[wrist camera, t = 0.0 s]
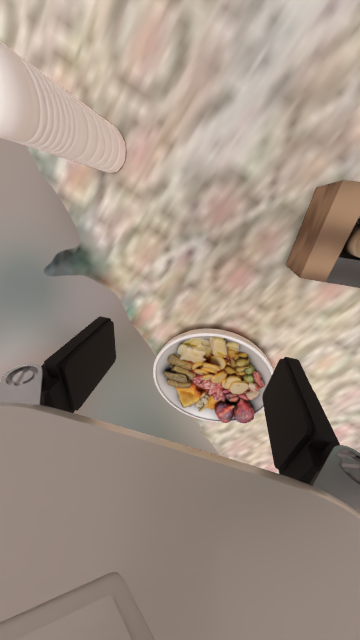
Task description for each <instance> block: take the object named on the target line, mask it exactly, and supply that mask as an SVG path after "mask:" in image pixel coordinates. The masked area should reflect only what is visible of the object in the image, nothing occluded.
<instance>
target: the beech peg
mask: <svg viewBox="0 0 360 640" xmlns="http://www.w3.org/2000/svg"><path fill="white" fill-rule="evenodd" d="M342 251H343V252H345V253H348V254H350V255H353V256H356V257H359V258H360V224H356V225H355V226H354V228H353V230H352V232H351V233H350V235H349V237H348V239H347V241H346V243H345V245H344V247H343V249H342Z"/></svg>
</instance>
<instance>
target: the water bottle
mask: <svg viewBox="0 0 360 640" xmlns="http://www.w3.org/2000/svg"><path fill="white" fill-rule="evenodd" d="M0 138H3V139H7V140H11V141H15V142H17V143H20V144H23V145H26V146H29V147H32V148H35V149H38V150H41V151H44V152H47V153H50V154H53V155H56V156H58V157H61V158H65V159H68V160H71V161H74V162H77V163H80V164H84V165H86V166H89V167H93V168H95V169H98V170H101V171H104V172H107V173H114V172H117V171H118V170H119V169H120V168H121V167H122V166H123V164H124V161H125V157H126V155H125V154H126V147H125V142H124V140H123V137H122V135H121V133H120V132H119V130H118V129H117V128H116V127H115V126H113V125H112V124H111V123H109V122H108V121H106V120H105V119H104V118H103V117H101V116H100V115H98V114H97V113H96V112H95V111H93V110H91V109H90V108H89V107H88V106H87V105H85V104H84V103H82V102H81V101H80V100H79V99H77V98H76V97H75V96H73V95H72V94H70V93H69V92H68V91H67V90H66V89H64V88H63V87H61V86H60V85H58V84H57V83H55V82H54V81H53V80H52V79H50V78H49V77H48V76H46V75H45V74H43V73H42V72H41V71H40V70H38V69H37V68H35V67H34V66H33V65H32V64H30V63H29V62H27V61H26V60H25V59H24V58H22V57H21V56H19V55H18V54H17V53H16V52H14V51H13V50H11V49H10V48H9V47H8V46H6V45H5V44H4V43H3V42H2V41H0Z"/></svg>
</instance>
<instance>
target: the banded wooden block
mask: <svg viewBox="0 0 360 640" xmlns="http://www.w3.org/2000/svg"><path fill="white" fill-rule="evenodd" d="M357 221H360V182H355V181H345V180H342V181H339V182H335V183H331V184H328V185H324V186H320V187H317V188H316V190H315V193H314V195H313V198H312V200H311V203H310V206H309V208H308V211H307V213H306V216H305V218H304V221H303V223H302V226H301V228H300V231H299V234H298V236H297V239H296V241H295V244H294V246H293V249H292V251H291V254H290V256H289V259H288V262H287V264H286V266H287V267H289V268H290V269H291V270H292V271H293V272H294V273H295V274H296V275H297V276H298V277H300V278H304V279H310V280H316V281H322V282H328V283H334V284H340V285H346V286H352V287H358V288H360V258H359V257H356V256H353V255H350V254H348V253H345V252H341V251H342V249H343V247H344V245H345V243H346V241H347V239H348V237H349V235H350V233H351V232H352V230H353V228H354V226H355V224H356V222H357Z"/></svg>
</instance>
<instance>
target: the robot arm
mask: <svg viewBox="0 0 360 640" xmlns="http://www.w3.org/2000/svg"><path fill="white" fill-rule="evenodd" d="M115 359H116V351H115V337H114V324H113V322H112V321H111V319H109V318H105V317H99V318H97V319H96V320H95V321H93V322H92V323H91V324H90V325H88V326H87V327H86V328H85V329H84V330H82V331H81V332H80V333H79V334H77V335H76V336H75V337H74V338H72V339H71V340H70V341H69V342H68V343H66V344H65V345H64V346H63V347H61V348H60V349H59V350H58V351H57V352H56V353H54V354H53V355H52V356H50V357H49V358H48V359H47V360H46V361H44V364H43V365H42V366H39V365H37V364H24V365H20V366H17V367H15V368H13V369H11V370H10V371H8V372H7V373H6V374H5V375H4V376H3V377H2V379H1V382H0V640H360V453H359V452H357V451H356V450H354V449H352V448H350V447H347V446H343V445H340V444H339V442H338V440H337V438H336V436H335V433H334V431H333V429H332V427H331V425H330V423H329V421H328V419H327V417H326V415H325V413H324V411H323V409H322V406H321V404H320V402H319V400H318V398H317V396H316V394H315V392H314V391H313V389H312V387H311V385H310V383H309V381H308V379H307V377H306V375H305V372H304V370H303V368H302V366H301V364H300V362H299V360H297V359H293V358H288V357H285V358H284V359H280V360H279V362H278V364H277V366H276V368H275V370H274V372H273V374H272V376H271V378H270V380H269V382H268V384H267V386H266V388H265V390H264V392H263V396H262V400H263V406H264V411H265V416H266V422H267V427H268V433H269V438H270V444H271V449H272V454H273V460H274V465H275V467H276V469H279V474H277V473H274V472H271V471H268V470H265V469H261V468H258V467H255V466H252V465H249V464H245V463H242V462H239V461H235V460H232V459H229V458H225V457H222V456H218V455H215V454H212V453H208V452H205V451H202V450H199V449H195V448H192V447H188V446H185V445H181V444H178V443H175V442H171V441H168V440H165V439H161V438H158V437H154V436H151V435H148V434H144V433H140V432H137V431H134V430H130V429H127V428H123V427H120V426H116V425H113V424H109V423H106V422H102V421H99V420H95V419H92V418H88V417H85V416H82V415H78V414H74V413H73V412H74V411H75V410H78V409H79V408H80V407H81V406H82V404H83V403H84V402H85V400H86V399H87V398H88V396H89V395H90V394H91V392H92V391H93V390H94V389H95V387H96V386H97V385H98V383H99V382H100V380H101V379H102V378H103V377H104V375H105V374H106V372H107V371H108V370H109V369H110V367H111V366H112V365H113V363H114V362H115Z"/></svg>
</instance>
